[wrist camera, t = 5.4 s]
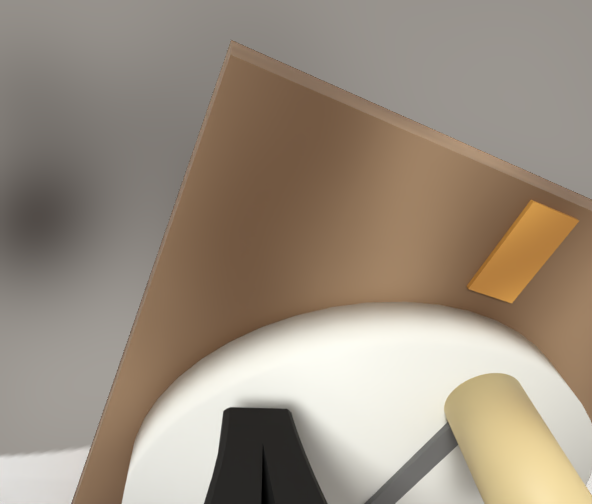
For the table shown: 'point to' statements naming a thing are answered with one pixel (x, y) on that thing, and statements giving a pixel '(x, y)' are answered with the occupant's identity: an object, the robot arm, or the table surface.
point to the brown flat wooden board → (340, 240)
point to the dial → (381, 411)
